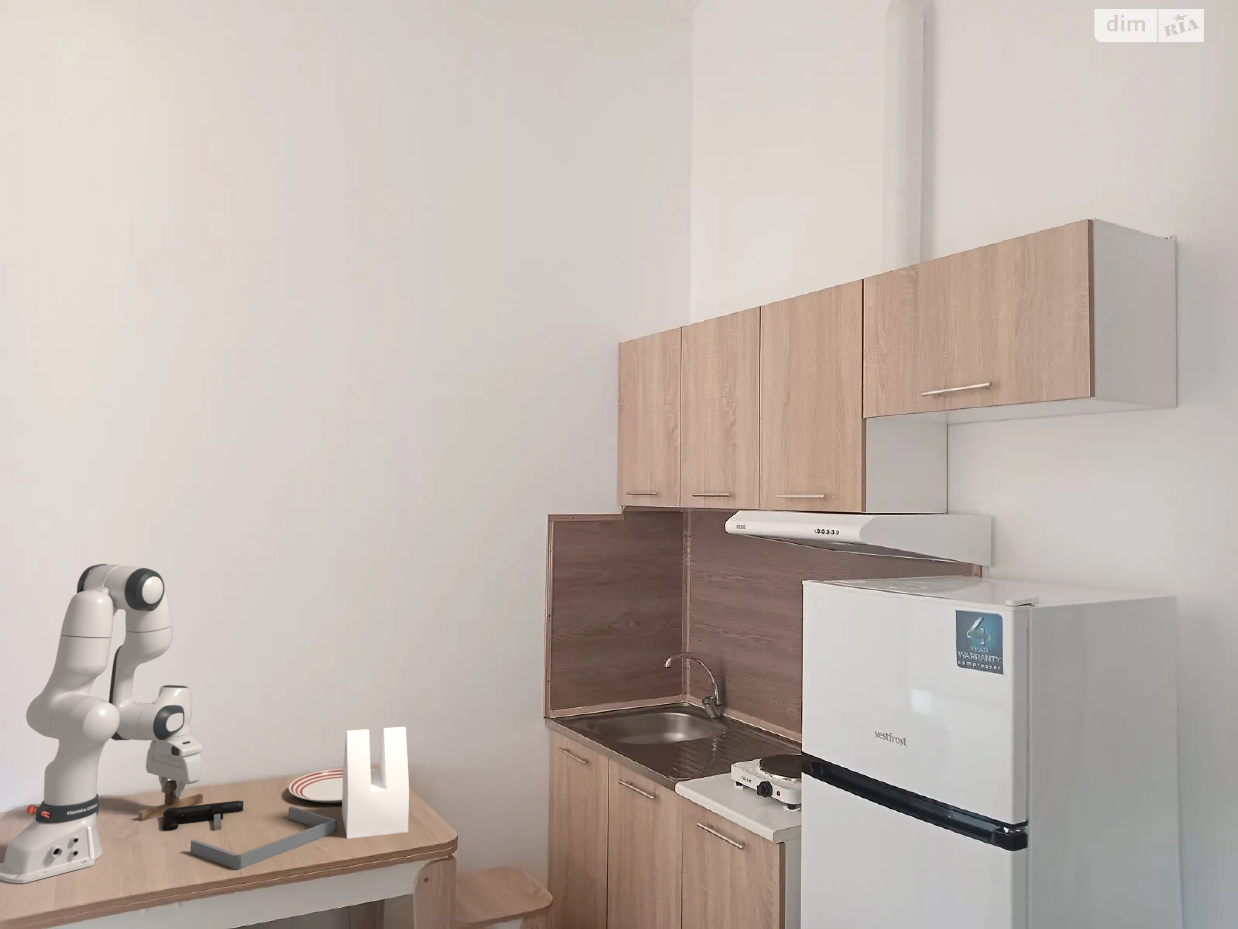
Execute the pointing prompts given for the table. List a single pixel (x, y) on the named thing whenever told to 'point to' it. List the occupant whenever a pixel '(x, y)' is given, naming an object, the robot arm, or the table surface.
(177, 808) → the black angular piece
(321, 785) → the dinner plate
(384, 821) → the white fork-shaped stand
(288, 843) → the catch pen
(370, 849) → the table surface
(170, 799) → the walnut scraper
